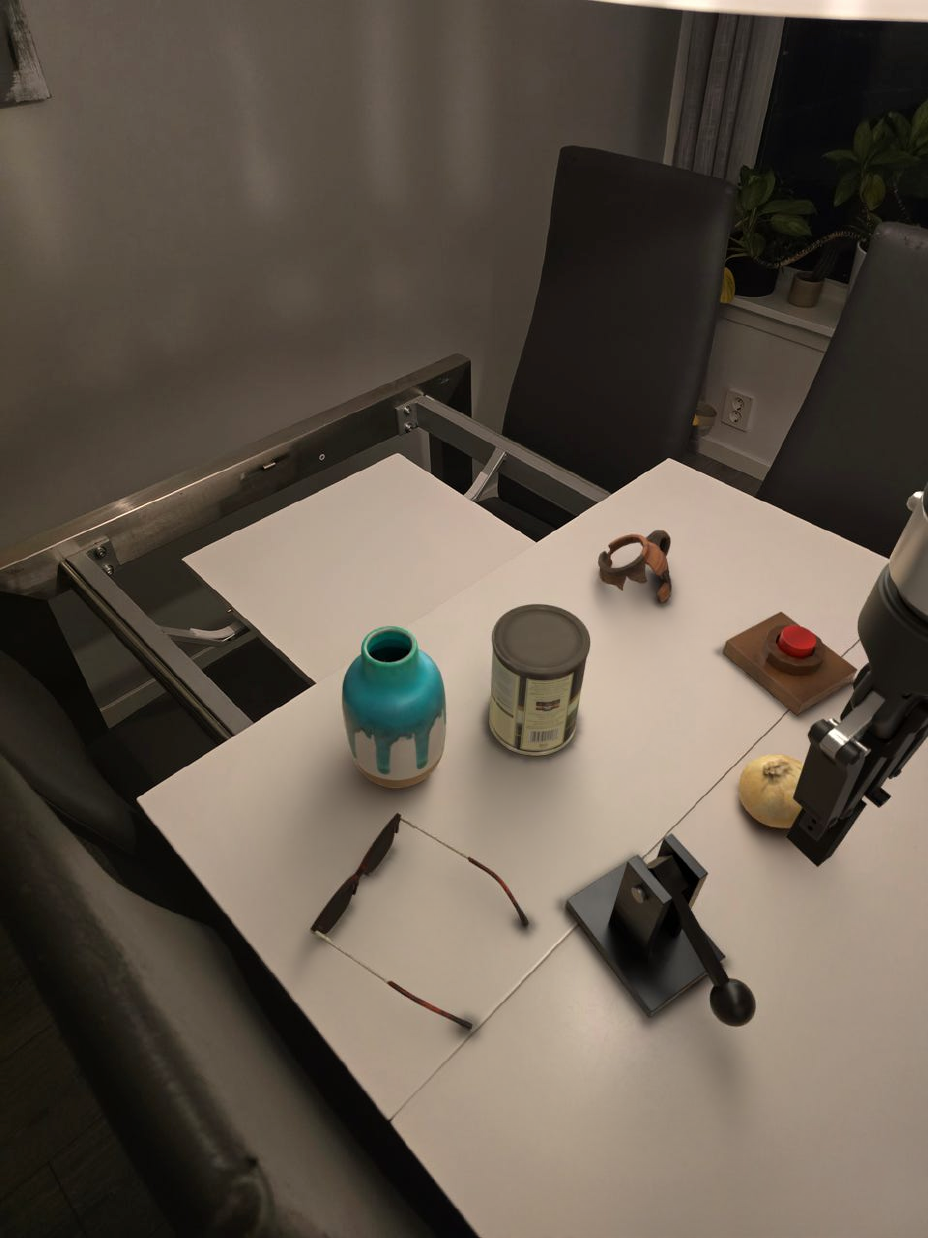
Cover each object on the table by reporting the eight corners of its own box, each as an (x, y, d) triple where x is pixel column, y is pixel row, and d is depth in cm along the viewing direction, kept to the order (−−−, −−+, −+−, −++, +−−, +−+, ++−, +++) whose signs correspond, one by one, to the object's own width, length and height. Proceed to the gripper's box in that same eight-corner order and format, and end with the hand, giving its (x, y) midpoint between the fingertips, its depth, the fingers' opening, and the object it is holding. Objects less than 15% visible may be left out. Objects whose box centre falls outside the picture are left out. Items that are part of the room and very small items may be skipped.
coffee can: (538, 674, 97) (548, 590, 87) (594, 729, 91) (611, 646, 81) (470, 711, 92) (472, 627, 83) (524, 772, 86) (533, 689, 77)
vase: (342, 738, 90) (322, 619, 76) (431, 715, 92) (427, 596, 78) (363, 815, 82) (345, 700, 69) (459, 789, 85) (460, 672, 71)
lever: (746, 1008, 66) (773, 1013, 63) (715, 1033, 65) (741, 1039, 61) (660, 853, 69) (681, 850, 65) (629, 873, 67) (649, 872, 64)
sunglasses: (397, 834, 81) (397, 809, 77) (534, 916, 76) (541, 894, 72) (313, 949, 72) (308, 927, 69) (461, 1050, 67) (465, 1032, 64)
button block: (851, 681, 96) (863, 659, 93) (796, 715, 92) (807, 693, 90) (776, 622, 103) (785, 600, 101) (722, 652, 100) (729, 630, 97)
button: (818, 650, 95) (823, 640, 94) (796, 663, 93) (800, 653, 92) (792, 630, 97) (797, 620, 96) (770, 643, 96) (774, 633, 95)
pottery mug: (659, 621, 104) (635, 578, 100) (602, 613, 111) (578, 572, 107) (698, 557, 109) (678, 513, 104) (642, 553, 116) (620, 512, 111)
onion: (775, 765, 87) (794, 726, 82) (827, 822, 82) (851, 784, 77) (718, 791, 85) (734, 752, 80) (767, 851, 80) (788, 814, 75)
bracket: (722, 962, 72) (761, 898, 63) (649, 1018, 68) (678, 958, 59) (635, 860, 79) (658, 789, 70) (565, 906, 76) (579, 837, 67)
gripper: (973, 507, 42) (825, 764, 58) (812, 599, 36) (700, 852, 53) (1120, 588, 37) (914, 841, 54) (960, 704, 32) (788, 944, 49)
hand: (808, 846), depth 53 cm, fingers closed
